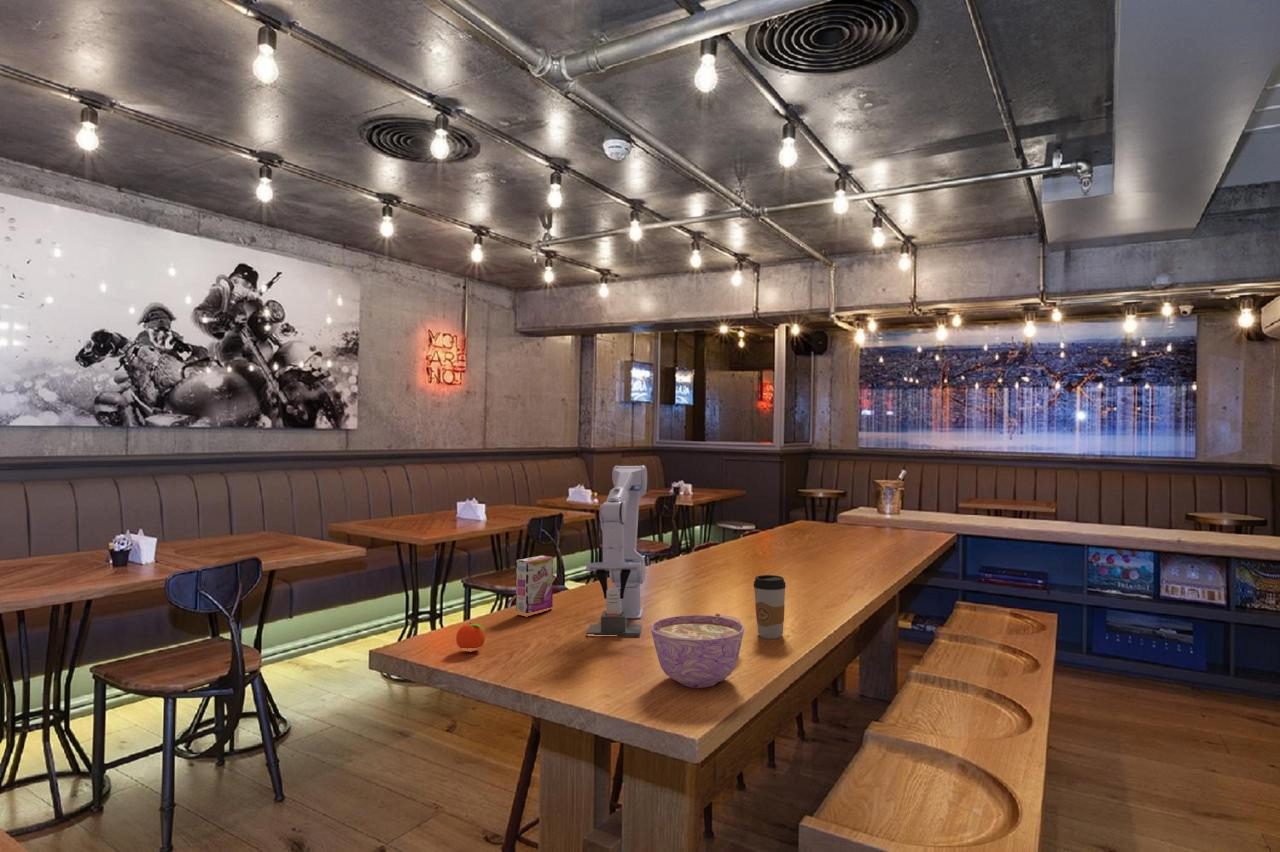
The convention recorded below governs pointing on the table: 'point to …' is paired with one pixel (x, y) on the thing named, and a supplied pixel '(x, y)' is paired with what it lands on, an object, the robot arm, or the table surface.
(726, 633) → the bowl of food
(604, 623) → the jack housing
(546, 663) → the table surface
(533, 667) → the table surface
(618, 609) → the block
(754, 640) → the table surface
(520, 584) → the candy bar box
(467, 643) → the clementine
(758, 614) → the coffee cup
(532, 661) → the table surface
